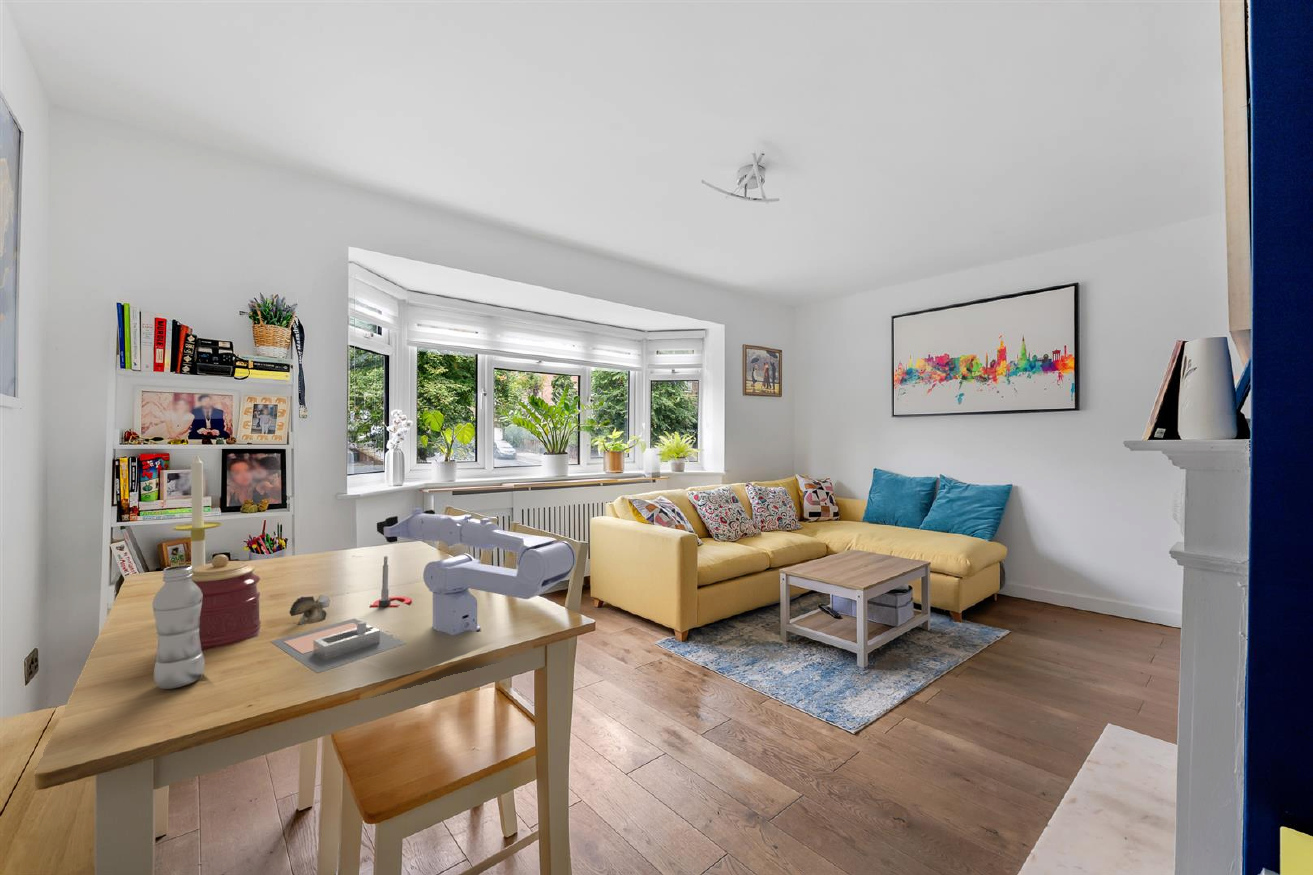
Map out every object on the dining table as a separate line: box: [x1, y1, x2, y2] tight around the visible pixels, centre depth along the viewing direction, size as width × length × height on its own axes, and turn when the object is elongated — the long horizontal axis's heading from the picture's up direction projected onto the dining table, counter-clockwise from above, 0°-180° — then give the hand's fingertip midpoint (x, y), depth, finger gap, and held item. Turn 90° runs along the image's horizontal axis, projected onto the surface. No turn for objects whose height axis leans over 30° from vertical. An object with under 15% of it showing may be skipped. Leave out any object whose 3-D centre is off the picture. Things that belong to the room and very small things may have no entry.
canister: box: [191, 554, 262, 652], centre depth 109 cm, size 13×13×18 cm
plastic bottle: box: [151, 564, 206, 690], centre depth 91 cm, size 6×7×20 cm
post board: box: [270, 618, 407, 674], centre depth 107 cm, size 22×16×5 cm
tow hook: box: [369, 555, 413, 609], centre depth 132 cm, size 8×13×9 cm
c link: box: [313, 623, 381, 660], centre depth 104 cm, size 5×10×2 cm, turn 143°
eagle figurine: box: [289, 594, 331, 625], centre depth 120 cm, size 8×7×9 cm
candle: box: [173, 452, 222, 570], centre depth 125 cm, size 10×10×38 cm
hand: (393, 524), depth 126 cm, fingers open, 7 cm apart
